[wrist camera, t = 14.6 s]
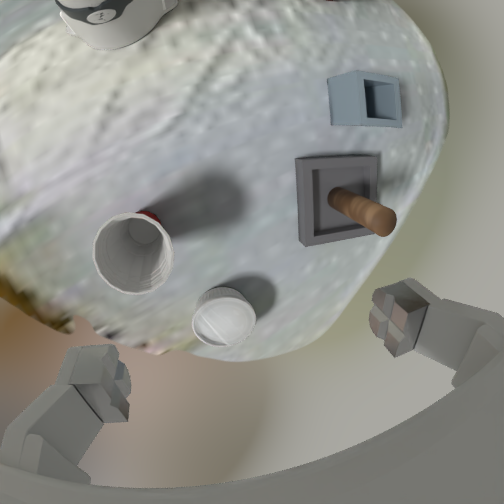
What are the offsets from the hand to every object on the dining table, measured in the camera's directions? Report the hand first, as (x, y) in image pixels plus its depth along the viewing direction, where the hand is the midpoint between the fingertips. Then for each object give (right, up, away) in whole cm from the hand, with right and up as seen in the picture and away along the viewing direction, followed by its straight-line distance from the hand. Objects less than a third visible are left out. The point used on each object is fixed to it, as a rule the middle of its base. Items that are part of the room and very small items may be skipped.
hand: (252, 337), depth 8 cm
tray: (+15, +12, +40) cm, 44 cm away
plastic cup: (-17, +7, +35) cm, 39 cm away
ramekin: (-6, -8, +44) cm, 45 cm away
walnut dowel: (+15, +12, +39) cm, 43 cm away
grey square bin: (+17, +28, +33) cm, 47 cm away
